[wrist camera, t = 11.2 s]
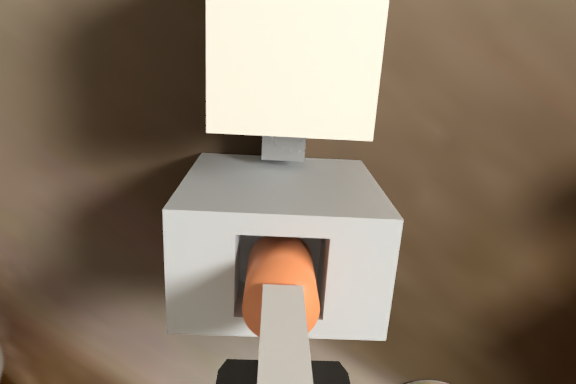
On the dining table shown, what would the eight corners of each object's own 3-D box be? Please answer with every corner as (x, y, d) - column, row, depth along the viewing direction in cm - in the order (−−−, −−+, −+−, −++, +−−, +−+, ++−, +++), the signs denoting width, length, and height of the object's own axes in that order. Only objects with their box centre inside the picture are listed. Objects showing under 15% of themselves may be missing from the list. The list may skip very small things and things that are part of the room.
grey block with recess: (201, 152, 28) (162, 209, 18) (361, 160, 28) (403, 219, 19) (202, 240, 30) (166, 333, 20) (351, 246, 30) (385, 340, 21)
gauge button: (249, 230, 20) (242, 273, 17) (314, 233, 21) (323, 276, 17) (247, 288, 21) (241, 341, 18) (310, 290, 21) (317, 343, 18)
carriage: (236, -55, 24) (205, -131, 13) (348, -47, 24) (402, -117, 14) (234, 97, 26) (206, 133, 16) (335, 103, 27) (372, 141, 16)
